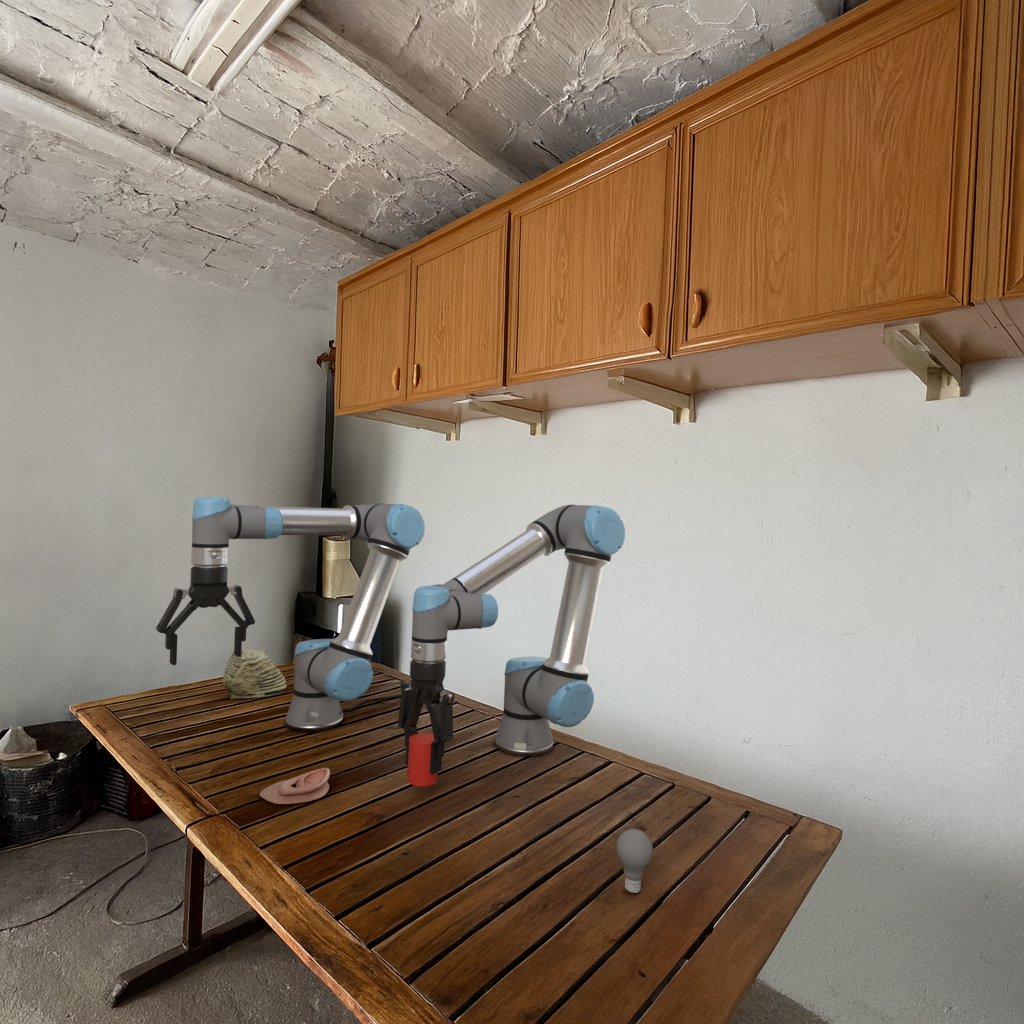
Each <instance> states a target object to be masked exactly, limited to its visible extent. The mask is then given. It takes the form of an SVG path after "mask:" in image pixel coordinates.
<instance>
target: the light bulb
mask: <svg viewBox="0 0 1024 1024" xmlns="http://www.w3.org/2000/svg"><path fill="white" fill-rule="evenodd" d="M615 849H616V854H617V857H618V859H619V861H620V863H621V865H622V867H623V873H624V874H623V875H624V876H625V878H624V888H625V890H627V891H628V892H630V893H634V894H635V893H639V892H640V891H641V889H642V887H641V886H642V879H643V877H644V875H645V871H646V868H647V867H648V866H649V864H650V863H651V861H652V859H653V855H654V847H653V843H652V841H651V838H649V836H648V835H647V834H646V833H645V832H643V831H642V830H641V829H636V828H629V829H627V830H625V831H623V832H622V833H621V834H620V835H619V837H618V839H617V841H616V847H615Z"/></svg>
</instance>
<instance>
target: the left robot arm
mask: <svg viewBox="0 0 1024 1024" xmlns="http://www.w3.org/2000/svg"><path fill="white" fill-rule="evenodd" d="M191 519H192V522H191V526H192V527H191V529H192V530H191V539H192V540H191V552H190V553H191V554H190V555H191V557H190V564H191V565H193V566H192V567H190V582H189V584H190V585H189V588H188V589H186V588H185V589H182V588H179V587H176V588H174V589H173V595H172V599H171V601H170V603H169V604H168V606H167V607H166V609H165V611H164V613H163V615H162V616H161V618H160V619H159V622H158V623H157V625H156V627H155V630H156V631H157V632H158V633H160V634H164V635H165V636H164V637H165V639H164V648H165V649H166V650H167V651H168V650H169V663H170V665H171V666H177V661H178V658H177V657H178V633H176V632H177V631H178V629H180V627H181V626H182V625H183V624H184V623H185V621H186V620H187V619H188V618H189V617H190V616H191V615H192V614H193V612H195V611H196V610H197V609H198V608H201V609H208V608H218V607H219V606H220V607H221V608H222V609H223V610H224V611H225V612H226V613H227V614H228V616H230V618H231V619H232V620H233V621H234V622H235V623H236V624H237V625H238V626H234V641H233V642H234V646H233V652H234V655H235V656H237V657H241V648H242V647H243V646H242V645H243V644H242V643H243V642H246V640H247V629H248V628H249V626H251V625H252V626H253V625H254V624H255V623H256V620H255V618H254V616H253V614H252V612H251V610H250V607H249V606H248V604H247V602H246V600H245V598H244V596H243V589H242V588H243V587H242V586H240V585H238V584H234V585H233V586H228V576H229V575H228V572H229V568H228V567H227V566H226V565H228V564H229V546H230V545H229V542H230V540H265V541H266V540H269V539H278V538H279V537H280V536H342V538H344V539H346V540H359V541H366V542H367V544H366V545H367V547H368V550H369V554H368V557H367V559H366V561H365V564H364V567H363V570H362V573H361V575H360V577H359V580H358V583H357V587H356V588H355V591H354V594H353V597H352V599H351V602H350V604H349V608H348V610H347V611H346V612H347V613H346V615H345V618H344V621H343V623H342V626H341V628H340V631H339V634H338V636H336V637H335V638H319V639H308V640H303V641H300V642H297V644H296V645H295V650H294V655H293V657H294V672H293V695H292V696H293V697H292V699H291V702H290V704H289V708H288V711H287V713H286V715H285V726H286V728H287V729H289V730H291V731H294V732H295V731H296V732H301V733H316V732H325V731H329V730H332V729H335V728H337V727H339V726H340V725H342V723H343V722H344V714H343V712H348V711H349V712H350V711H353V710H355V709H356V708H358V706H360V705H362V704H364V703H368V702H373V701H383V700H389V699H395V698H396V699H397V698H401V693H398V694H393V695H388V696H380V697H371V698H366V699H363V700H360V701H359V702H357V703H356V704H355V705H353V706H350V707H346V708H344V707H343V708H342V706H341V702H345V703H347V702H353V701H357V699H359V698H361V697H362V696H364V694H366V692H368V690H369V689H370V687H371V684H372V683H373V680H374V670H373V667H372V665H371V660H372V658H373V654H374V653H373V651H372V649H371V644H372V641H373V638H374V635H375V633H376V630H377V627H378V624H379V621H380V619H381V616H382V613H383V610H384V608H385V605H386V602H387V599H388V596H389V595H390V594H389V593H390V591H391V588H392V585H393V583H394V579H395V577H396V574H397V571H398V569H399V567H400V563H401V562H402V561H404V560H406V559H408V557H409V554H410V552H411V549H413V548H415V547H416V546H418V545H420V543H421V542H422V540H424V535H425V531H426V525H425V521H424V519H423V515H422V514H421V513H420V512H419V510H418V509H416V508H415V507H414V506H412V505H408V504H407V505H406V504H404V503H384V502H383V503H382V502H377V503H367V504H357V505H356V504H355V505H350V504H347V505H344V506H343V507H342V508H341V507H340V508H338V507H336V508H334V507H305V506H304V507H303V506H302V507H301V506H270V505H239V504H232V503H231V500H230V498H227V497H212V496H211V497H210V496H208V497H207V496H200V497H197V498H196V499H194V501H193V506H192V516H191ZM229 593H230V595H231V596H233V597H234V599H235V602H236V604H237V606H238V607H239V610H240V611H241V614H242V615H243V617H244V619H243V618H242V617H241V616H240V614H239V613H238V612H237V611H236V610H235V609H234V608H233V607H232V605H230V603H229V602H228V601H227V600H226V599H225V598H226V597H227V596H228V595H229ZM187 596H188V597H189V598H190V600H189V601H188V603H187V604H186V606H185V607H184V608H183V609H182V610H181V611H180V613H178V615H176V617H175V618H174V619H173V617H174V615H175V614H176V612H177V610H178V608H179V607H180V605H181V603H182V600H184V599H185V598H186V597H187ZM172 619H173V620H172Z"/></svg>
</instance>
